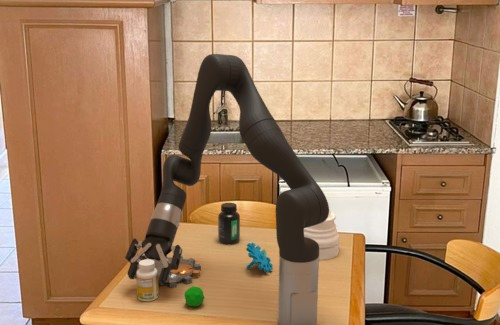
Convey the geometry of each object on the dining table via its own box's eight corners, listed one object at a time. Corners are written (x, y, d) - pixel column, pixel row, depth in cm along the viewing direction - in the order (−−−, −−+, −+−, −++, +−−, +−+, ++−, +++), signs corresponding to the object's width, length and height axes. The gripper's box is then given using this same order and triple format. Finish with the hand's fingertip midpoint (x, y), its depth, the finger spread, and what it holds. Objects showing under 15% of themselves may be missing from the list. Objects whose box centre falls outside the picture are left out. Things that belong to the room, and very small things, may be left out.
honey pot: (338, 261, 186) (340, 203, 181) (294, 258, 188) (295, 200, 183) (339, 244, 198) (341, 189, 193) (298, 242, 200) (299, 187, 195)
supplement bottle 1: (149, 290, 167) (147, 256, 165) (163, 296, 164) (161, 261, 161) (133, 297, 163) (131, 262, 161) (147, 304, 160) (145, 268, 157)
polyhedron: (208, 304, 160) (208, 287, 158) (194, 311, 156) (193, 294, 155) (194, 298, 163) (194, 281, 162) (180, 305, 159) (180, 287, 158)
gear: (268, 273, 173) (245, 245, 175) (253, 286, 175) (230, 258, 176) (279, 263, 184) (256, 236, 185) (264, 275, 186) (242, 249, 187)
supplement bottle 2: (239, 244, 197) (239, 208, 194) (217, 244, 197) (217, 208, 194) (240, 236, 204) (239, 201, 201) (218, 236, 204) (218, 201, 201)
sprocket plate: (207, 283, 171) (206, 277, 171) (138, 291, 167) (137, 285, 166) (194, 256, 188) (194, 251, 188) (132, 263, 184) (131, 257, 183)
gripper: (135, 214, 168) (115, 271, 161) (184, 220, 164) (165, 279, 156) (145, 226, 174) (126, 282, 167) (193, 232, 170) (175, 290, 162)
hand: (145, 280), depth 161 cm, fingers open, 8 cm apart
